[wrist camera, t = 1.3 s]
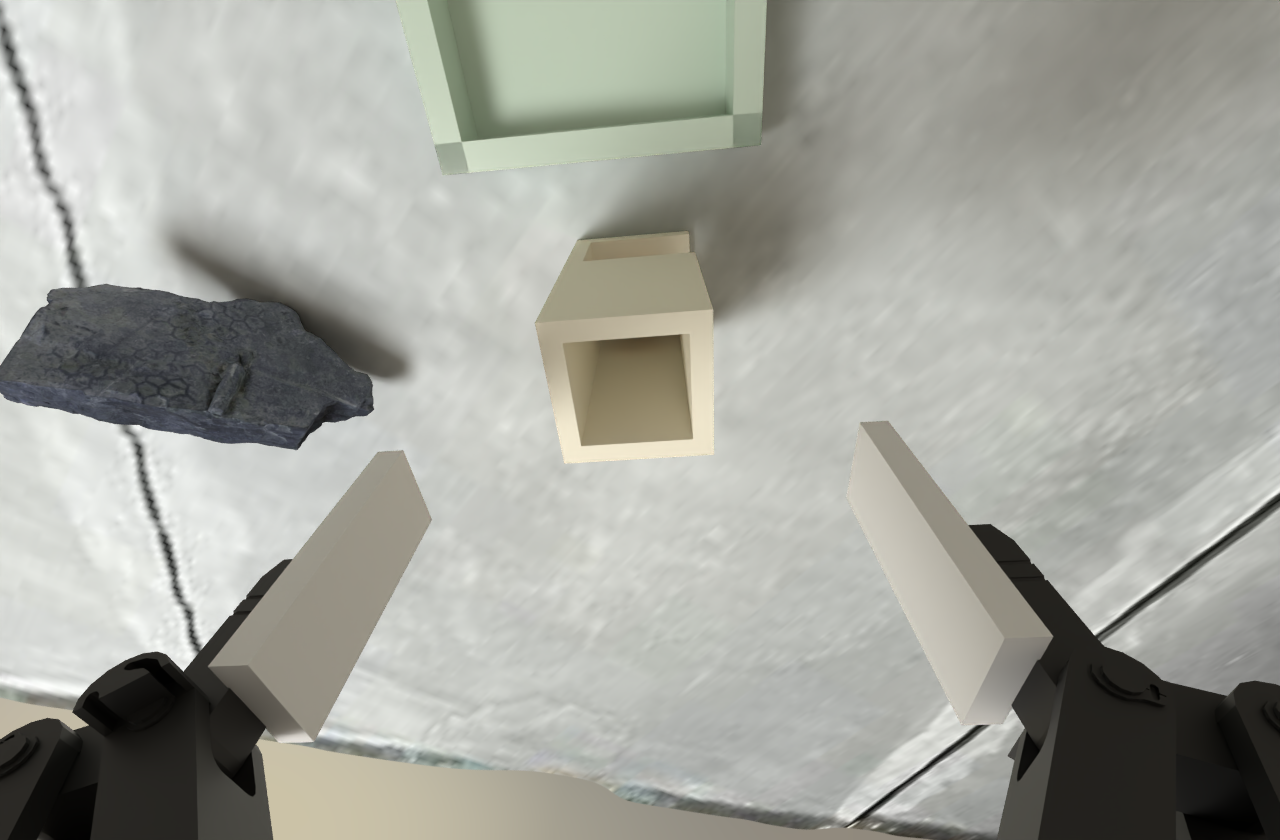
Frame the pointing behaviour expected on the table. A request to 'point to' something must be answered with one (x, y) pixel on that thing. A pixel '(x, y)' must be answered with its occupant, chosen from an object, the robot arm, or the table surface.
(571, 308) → the hollow box
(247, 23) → the table surface
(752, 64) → the tray
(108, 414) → the stone
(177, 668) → the robot arm
